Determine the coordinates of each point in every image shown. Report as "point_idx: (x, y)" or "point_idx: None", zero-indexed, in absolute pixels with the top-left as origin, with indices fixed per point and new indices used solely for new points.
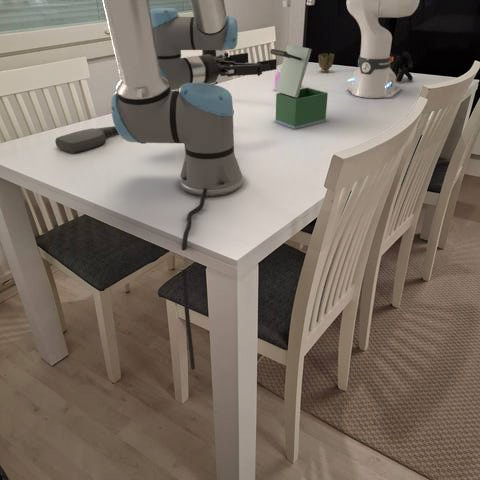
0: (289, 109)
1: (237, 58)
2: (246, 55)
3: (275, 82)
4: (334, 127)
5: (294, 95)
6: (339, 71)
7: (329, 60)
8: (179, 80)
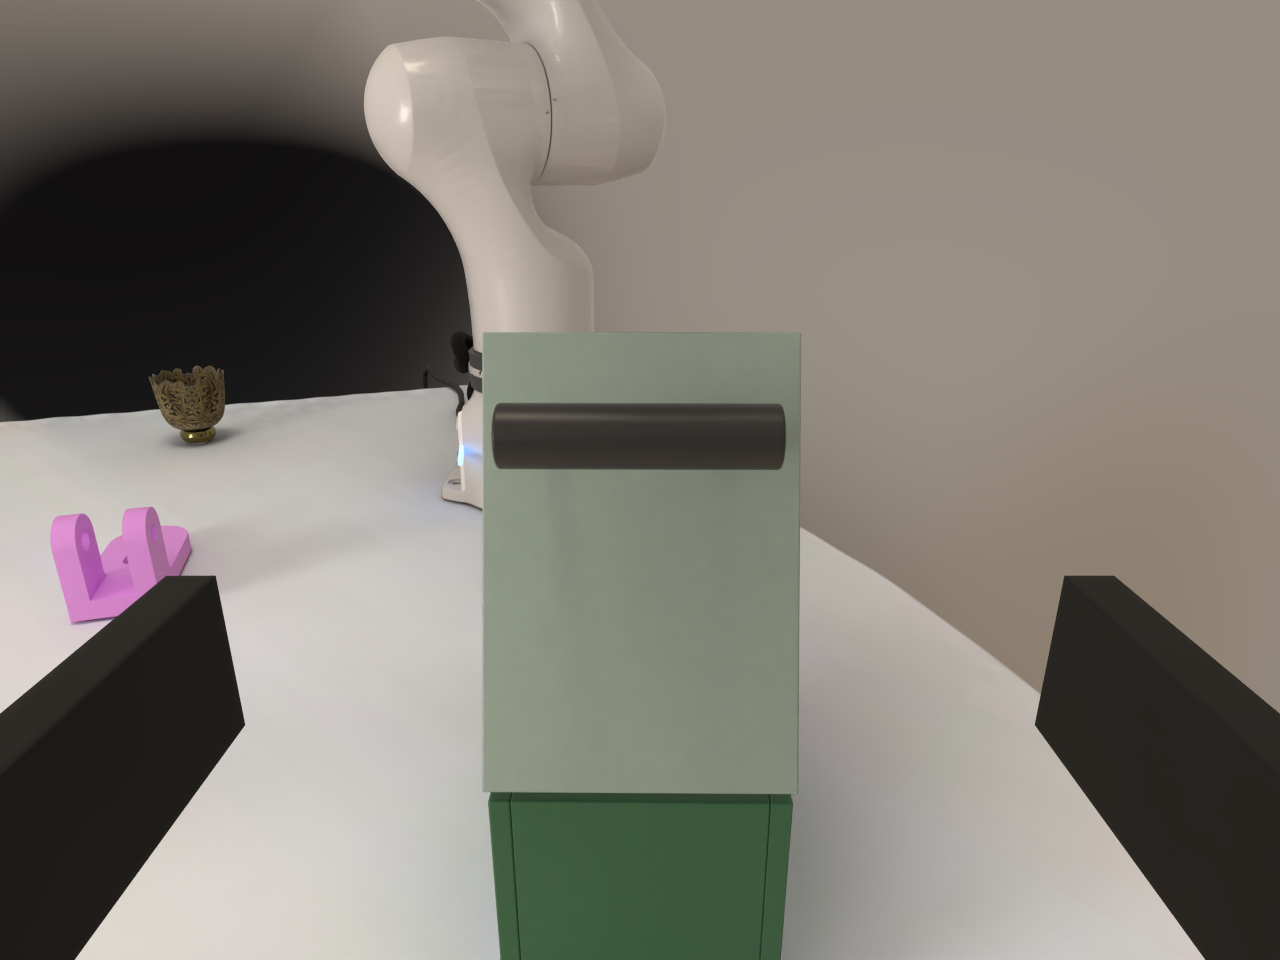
0: (698, 890)
1: (54, 830)
2: (202, 632)
3: (63, 581)
4: (873, 792)
5: (786, 780)
6: (252, 425)
7: (214, 393)
8: None
